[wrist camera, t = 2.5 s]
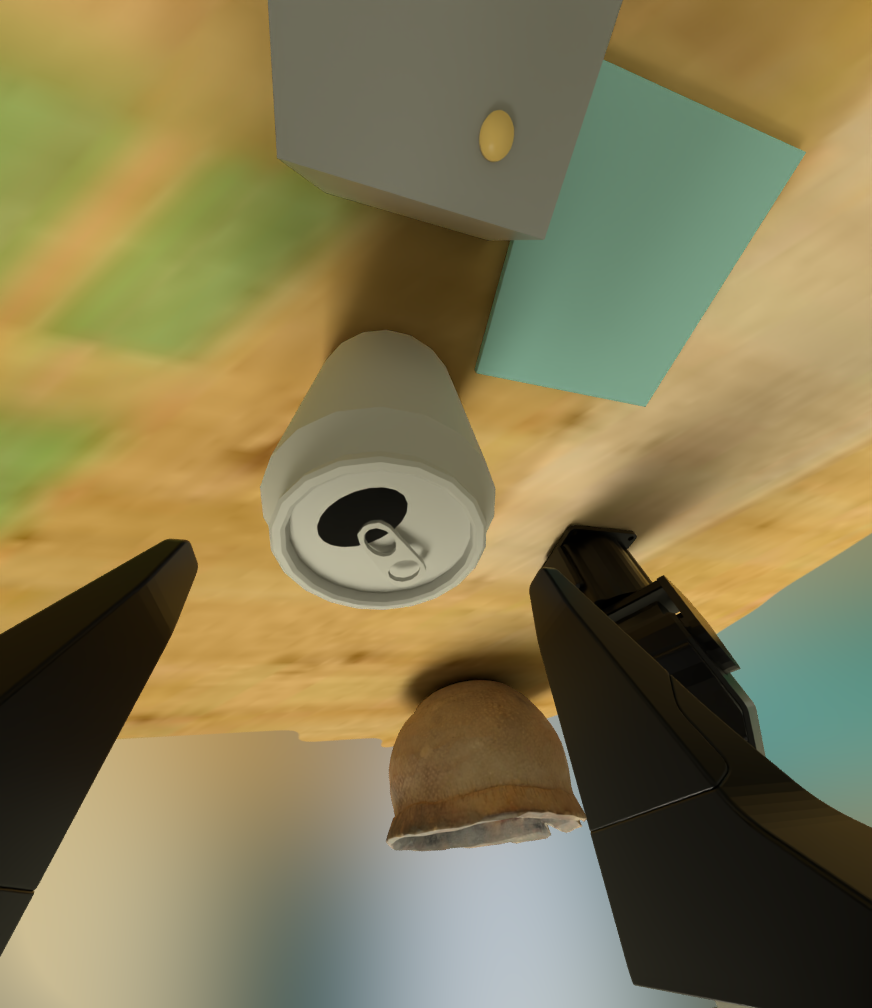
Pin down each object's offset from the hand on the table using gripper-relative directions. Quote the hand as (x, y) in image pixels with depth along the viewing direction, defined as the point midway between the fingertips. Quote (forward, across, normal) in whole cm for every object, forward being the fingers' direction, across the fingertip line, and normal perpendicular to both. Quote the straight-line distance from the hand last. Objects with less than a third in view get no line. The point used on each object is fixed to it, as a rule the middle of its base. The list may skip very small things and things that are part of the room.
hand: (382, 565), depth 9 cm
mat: (+13, -10, -8) cm, 18 cm away
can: (+13, 0, 0) cm, 13 cm away
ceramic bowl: (+14, -16, +41) cm, 46 cm away
